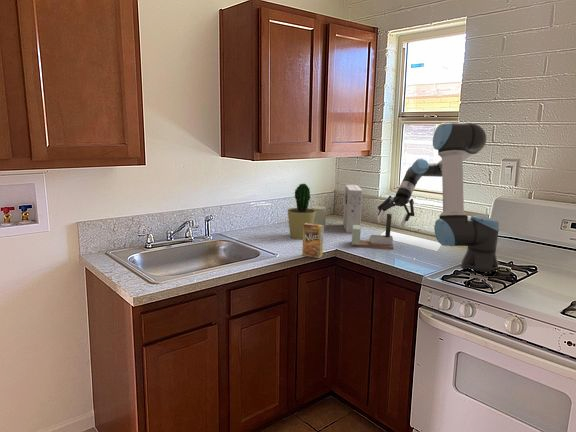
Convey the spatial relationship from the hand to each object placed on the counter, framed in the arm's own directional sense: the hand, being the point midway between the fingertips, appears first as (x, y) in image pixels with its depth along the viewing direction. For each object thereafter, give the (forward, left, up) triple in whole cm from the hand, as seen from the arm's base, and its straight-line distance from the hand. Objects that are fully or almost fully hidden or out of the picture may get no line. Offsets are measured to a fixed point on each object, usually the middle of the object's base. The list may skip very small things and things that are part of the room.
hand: (389, 223), depth 235 cm
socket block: (-3, +17, -10) cm, 20 cm away
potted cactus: (+5, +47, -12) cm, 49 cm away
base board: (-3, +8, -12) cm, 15 cm away
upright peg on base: (-3, +4, -10) cm, 11 cm away
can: (+34, +40, -12) cm, 54 cm away
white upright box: (+32, +20, -12) cm, 39 cm away
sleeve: (-3, +4, -10) cm, 12 cm away
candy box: (-30, +37, -12) cm, 49 cm away
